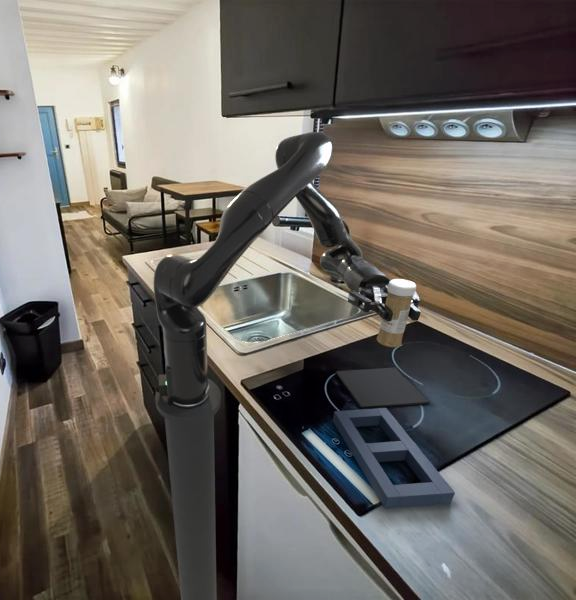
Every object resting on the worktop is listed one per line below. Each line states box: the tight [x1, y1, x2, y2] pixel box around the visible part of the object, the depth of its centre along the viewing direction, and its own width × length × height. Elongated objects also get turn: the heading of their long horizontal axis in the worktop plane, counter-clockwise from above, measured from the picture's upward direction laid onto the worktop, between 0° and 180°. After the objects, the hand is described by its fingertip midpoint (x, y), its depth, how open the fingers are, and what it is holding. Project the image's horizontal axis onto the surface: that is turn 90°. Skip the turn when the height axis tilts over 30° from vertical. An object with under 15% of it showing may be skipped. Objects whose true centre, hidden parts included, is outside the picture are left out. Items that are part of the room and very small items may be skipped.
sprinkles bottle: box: [376, 278, 417, 348], centre depth 72 cm, size 5×5×14 cm
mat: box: [335, 367, 430, 409], centre depth 80 cm, size 14×12×1 cm
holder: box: [332, 407, 456, 509], centre depth 63 cm, size 10×18×2 cm, turn 2°
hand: (403, 316), depth 69 cm, fingers closed on sprinkles bottle, 4 cm apart
